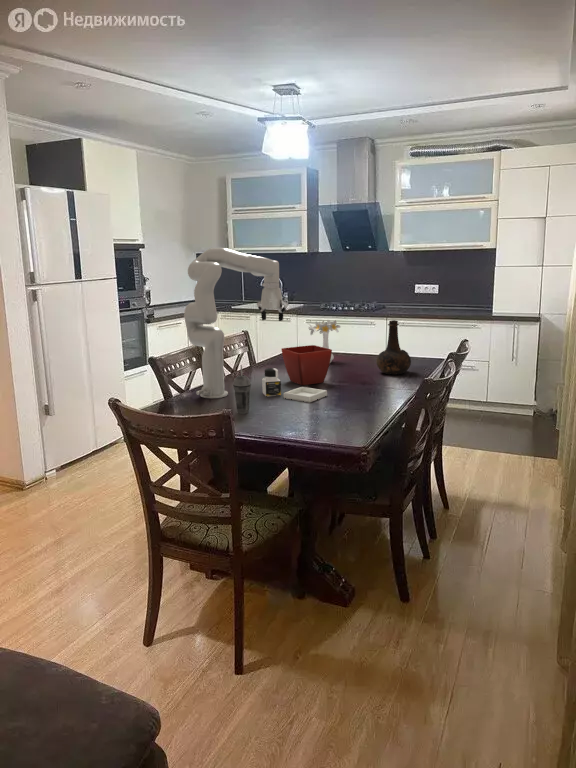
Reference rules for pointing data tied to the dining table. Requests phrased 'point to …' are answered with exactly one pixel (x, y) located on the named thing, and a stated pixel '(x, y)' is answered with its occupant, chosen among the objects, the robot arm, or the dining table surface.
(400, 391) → the dining table surface
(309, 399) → the tray
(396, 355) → the glass bottle
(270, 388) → the medicine bottle
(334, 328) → the flower vase
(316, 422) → the dining table surface
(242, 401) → the beverage cup
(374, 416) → the dining table surface
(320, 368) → the plant pot
